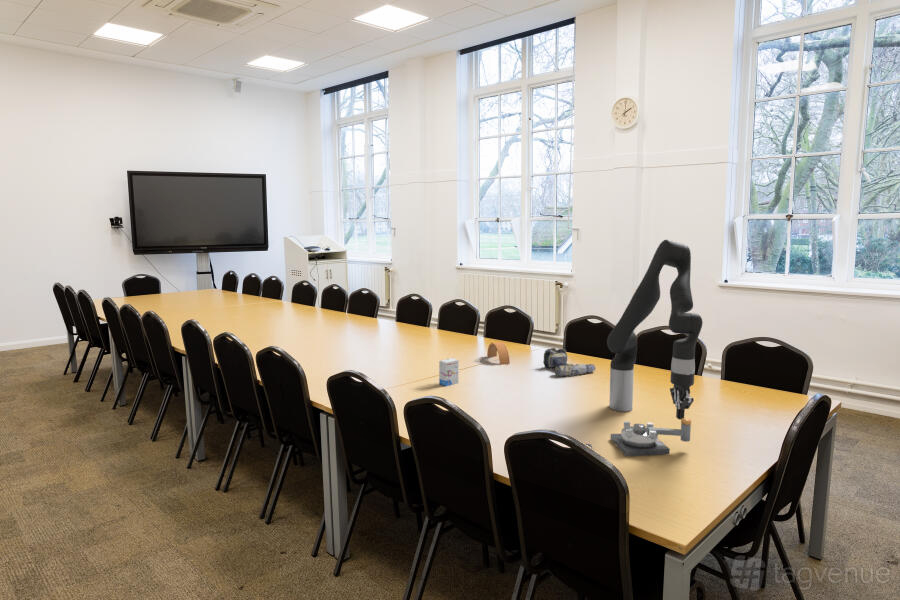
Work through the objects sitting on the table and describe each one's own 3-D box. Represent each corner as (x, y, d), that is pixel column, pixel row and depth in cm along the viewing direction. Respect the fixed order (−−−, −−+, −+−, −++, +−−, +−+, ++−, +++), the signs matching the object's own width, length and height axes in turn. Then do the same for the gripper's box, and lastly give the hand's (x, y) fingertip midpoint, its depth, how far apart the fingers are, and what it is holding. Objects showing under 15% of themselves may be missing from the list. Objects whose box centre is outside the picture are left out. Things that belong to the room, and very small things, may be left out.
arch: (499, 365, 315) (499, 347, 313) (487, 356, 334) (487, 339, 332) (509, 364, 316) (509, 346, 315) (496, 355, 335) (496, 338, 334)
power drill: (536, 368, 307) (536, 348, 305) (572, 364, 315) (572, 344, 314) (559, 378, 287) (560, 357, 285) (597, 373, 295) (598, 352, 294)
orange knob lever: (686, 437, 203) (687, 414, 202) (693, 450, 191) (694, 426, 190) (619, 433, 208) (620, 410, 207) (622, 446, 196) (623, 422, 195)
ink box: (445, 386, 276) (445, 362, 274) (439, 384, 279) (438, 360, 278) (459, 383, 281) (458, 359, 280) (452, 380, 285) (451, 357, 283)
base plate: (610, 439, 208) (610, 433, 208) (651, 437, 209) (651, 432, 209) (625, 456, 193) (625, 450, 193) (669, 454, 194) (669, 448, 194)
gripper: (663, 365, 205) (661, 412, 207) (681, 376, 192) (678, 426, 194) (683, 365, 205) (681, 411, 208) (703, 375, 192) (700, 425, 195)
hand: (680, 418), depth 201 cm, fingers closed
